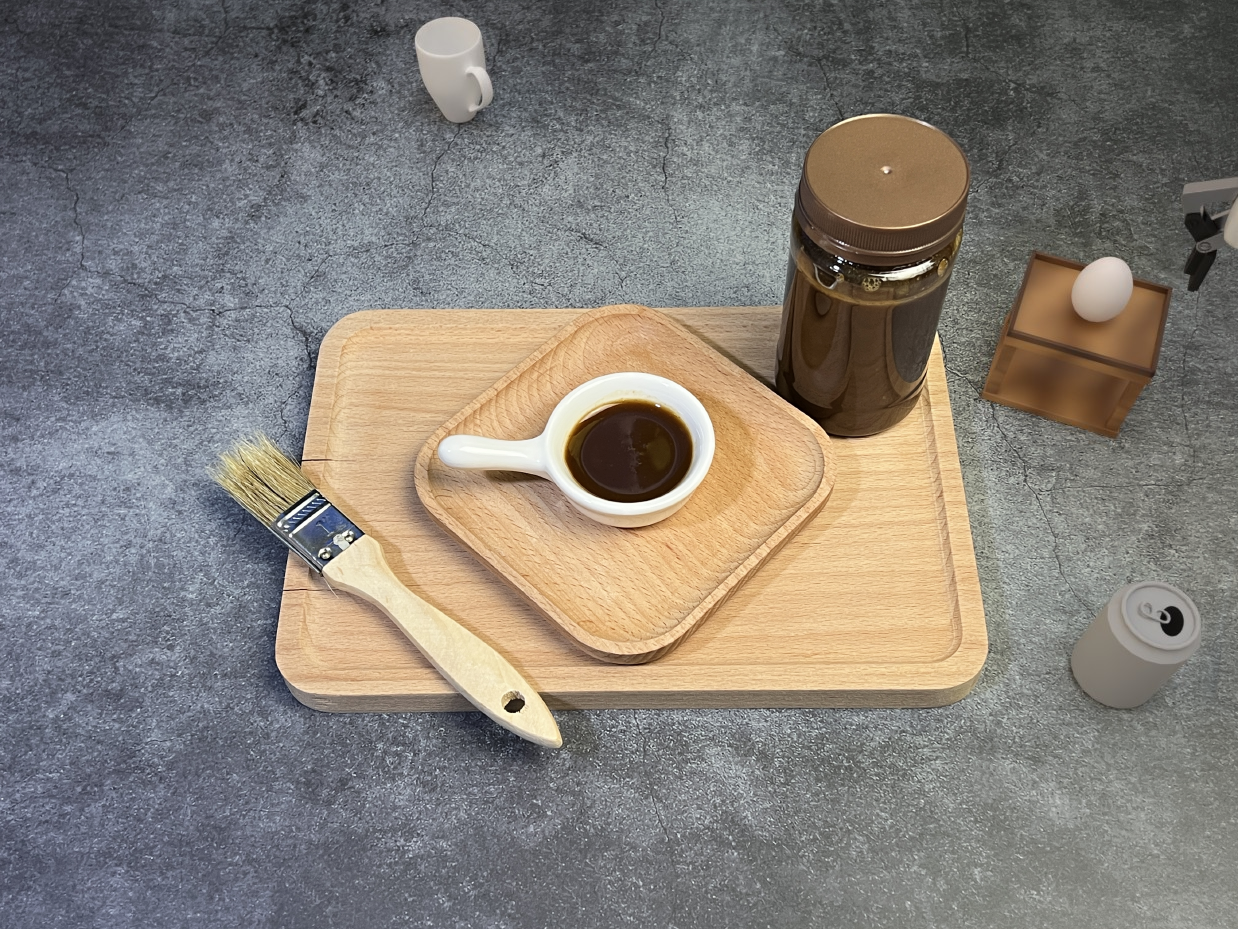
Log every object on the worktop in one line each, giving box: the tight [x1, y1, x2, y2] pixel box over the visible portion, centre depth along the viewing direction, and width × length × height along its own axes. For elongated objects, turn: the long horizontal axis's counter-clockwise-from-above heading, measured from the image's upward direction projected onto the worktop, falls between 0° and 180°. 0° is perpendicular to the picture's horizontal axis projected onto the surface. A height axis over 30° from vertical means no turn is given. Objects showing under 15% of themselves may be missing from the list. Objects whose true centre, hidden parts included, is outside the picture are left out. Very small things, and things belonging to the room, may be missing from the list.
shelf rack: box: [980, 249, 1174, 440], centre depth 114 cm, size 14×12×11 cm
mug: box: [414, 16, 494, 124], centre depth 139 cm, size 12×8×11 cm
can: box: [1070, 580, 1203, 710], centre depth 94 cm, size 8×8×12 cm
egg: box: [1071, 256, 1133, 322], centre depth 107 cm, size 5×5×7 cm
